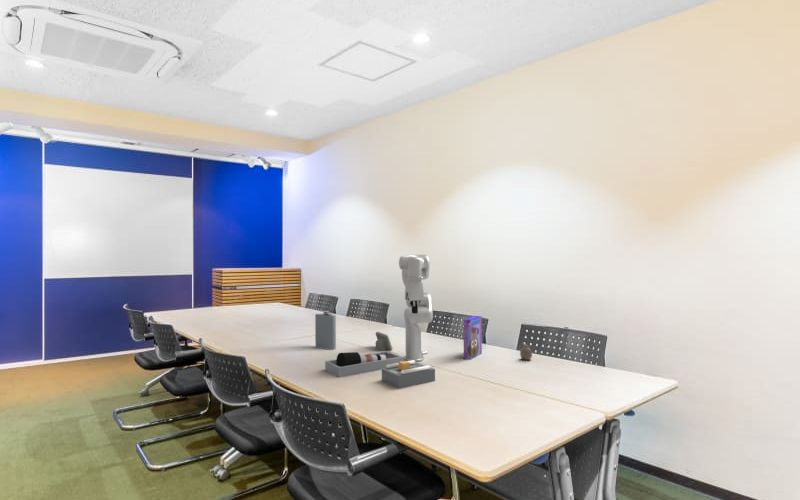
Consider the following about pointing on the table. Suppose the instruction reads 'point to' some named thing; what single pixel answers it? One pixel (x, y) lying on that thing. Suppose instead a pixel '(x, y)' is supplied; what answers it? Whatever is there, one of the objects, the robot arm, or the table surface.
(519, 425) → the table surface
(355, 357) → the cable
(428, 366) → the cord
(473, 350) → the cereal box
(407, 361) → the cord
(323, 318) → the flask
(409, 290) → the robot arm
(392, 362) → the grey tray
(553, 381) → the table surface
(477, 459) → the table surface
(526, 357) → the vase
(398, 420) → the table surface
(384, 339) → the grey rock
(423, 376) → the grey slider switch panel
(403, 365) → the block
